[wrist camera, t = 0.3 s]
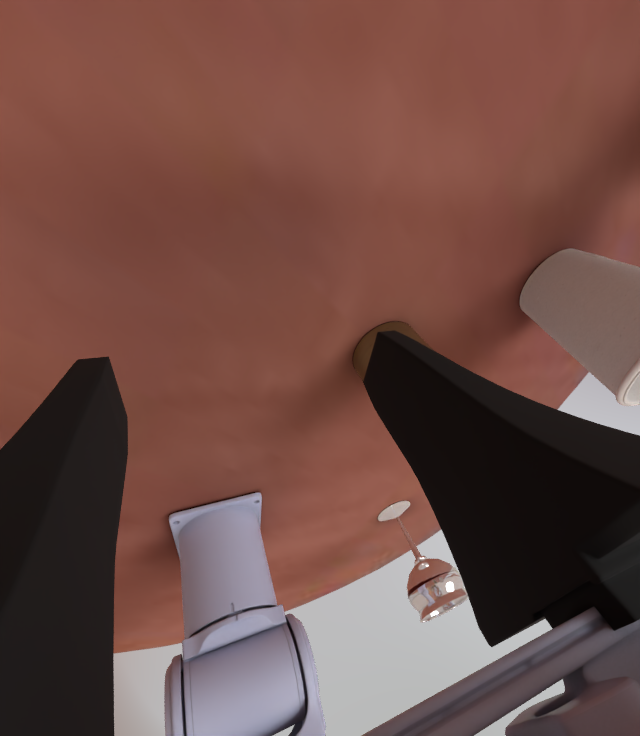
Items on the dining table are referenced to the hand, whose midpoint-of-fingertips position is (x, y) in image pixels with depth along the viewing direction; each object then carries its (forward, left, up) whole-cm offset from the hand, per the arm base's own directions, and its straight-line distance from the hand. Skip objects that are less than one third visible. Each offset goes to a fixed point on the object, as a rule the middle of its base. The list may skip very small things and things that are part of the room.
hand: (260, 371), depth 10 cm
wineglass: (-37, -22, -10) cm, 44 cm away
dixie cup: (-3, -26, -10) cm, 28 cm away
